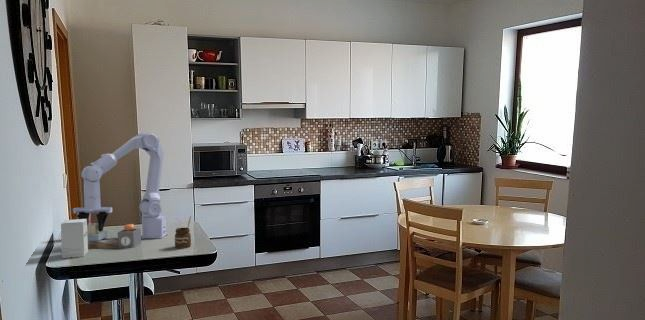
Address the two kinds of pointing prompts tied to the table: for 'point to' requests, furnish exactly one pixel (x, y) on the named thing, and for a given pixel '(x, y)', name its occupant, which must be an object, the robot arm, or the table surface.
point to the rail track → (104, 243)
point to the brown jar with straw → (182, 237)
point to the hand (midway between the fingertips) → (93, 231)
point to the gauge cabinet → (129, 238)
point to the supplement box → (74, 238)
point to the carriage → (95, 232)
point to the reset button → (129, 227)
